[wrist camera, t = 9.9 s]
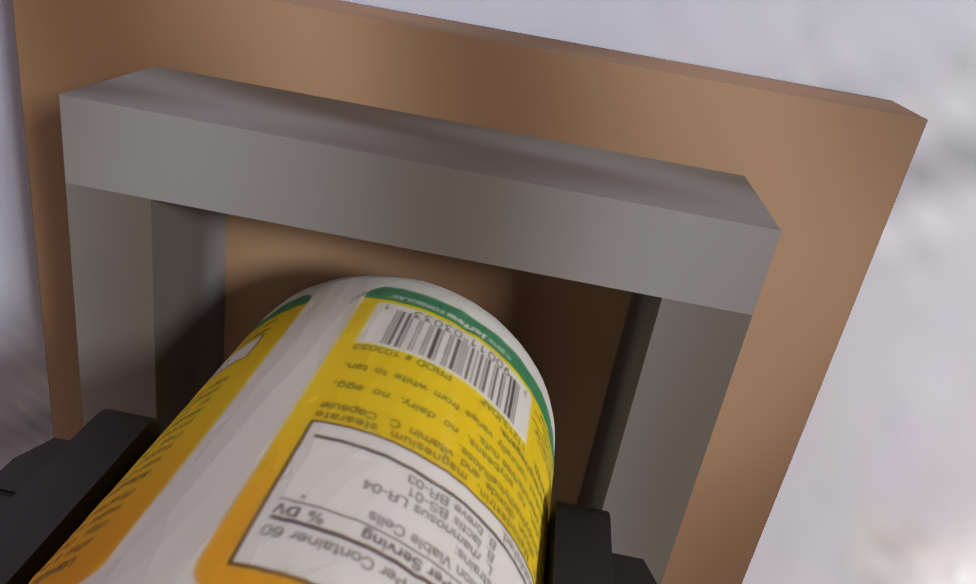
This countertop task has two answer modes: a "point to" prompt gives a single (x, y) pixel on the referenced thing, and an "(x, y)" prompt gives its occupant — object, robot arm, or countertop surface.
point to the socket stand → (463, 227)
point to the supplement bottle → (341, 455)
